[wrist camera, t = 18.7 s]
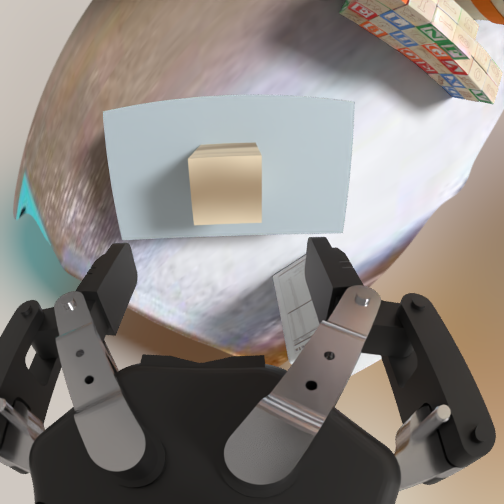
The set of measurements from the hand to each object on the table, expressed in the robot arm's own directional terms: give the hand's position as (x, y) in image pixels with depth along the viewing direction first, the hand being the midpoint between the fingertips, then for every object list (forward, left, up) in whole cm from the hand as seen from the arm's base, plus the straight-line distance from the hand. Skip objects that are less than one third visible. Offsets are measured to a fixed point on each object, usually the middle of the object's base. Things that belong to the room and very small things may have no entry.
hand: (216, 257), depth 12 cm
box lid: (0, 0, -16) cm, 16 cm away
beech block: (0, 0, -15) cm, 15 cm away
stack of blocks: (-18, +25, -25) cm, 40 cm away
